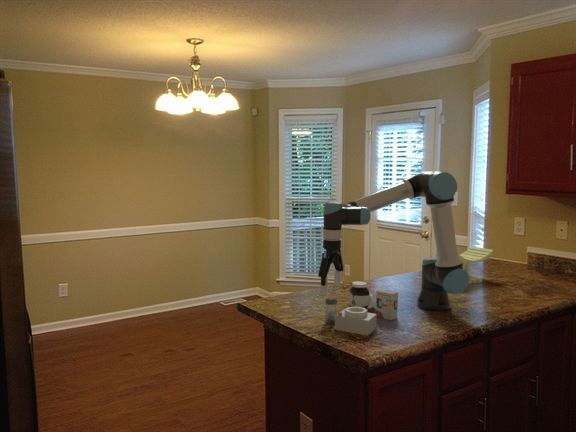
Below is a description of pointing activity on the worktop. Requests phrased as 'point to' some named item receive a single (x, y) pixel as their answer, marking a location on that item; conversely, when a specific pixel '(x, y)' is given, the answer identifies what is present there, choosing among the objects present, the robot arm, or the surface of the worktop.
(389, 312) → the ink box
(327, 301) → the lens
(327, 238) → the robot arm
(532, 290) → the worktop surface
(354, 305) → the spread jar
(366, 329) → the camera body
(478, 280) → the slatted curved stool
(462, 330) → the worktop surface
